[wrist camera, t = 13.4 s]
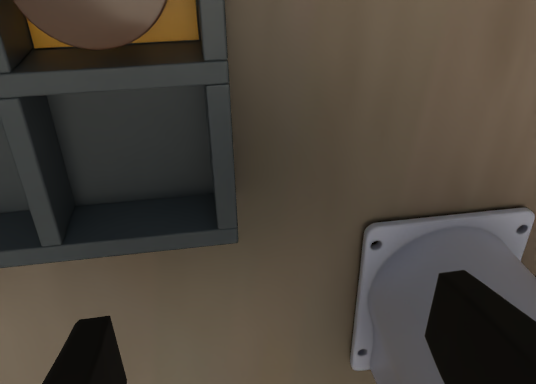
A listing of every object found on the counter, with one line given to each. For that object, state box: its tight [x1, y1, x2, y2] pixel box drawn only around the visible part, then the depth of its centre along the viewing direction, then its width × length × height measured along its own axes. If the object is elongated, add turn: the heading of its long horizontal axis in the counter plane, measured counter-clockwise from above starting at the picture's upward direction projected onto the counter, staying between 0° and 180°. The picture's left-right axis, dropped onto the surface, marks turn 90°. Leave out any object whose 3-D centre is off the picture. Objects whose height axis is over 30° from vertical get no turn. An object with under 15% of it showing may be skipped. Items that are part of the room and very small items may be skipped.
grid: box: [0, 0, 238, 268], centre depth 15 cm, size 12×12×3 cm
